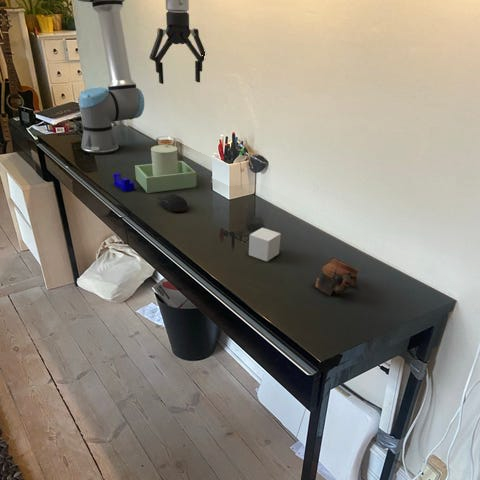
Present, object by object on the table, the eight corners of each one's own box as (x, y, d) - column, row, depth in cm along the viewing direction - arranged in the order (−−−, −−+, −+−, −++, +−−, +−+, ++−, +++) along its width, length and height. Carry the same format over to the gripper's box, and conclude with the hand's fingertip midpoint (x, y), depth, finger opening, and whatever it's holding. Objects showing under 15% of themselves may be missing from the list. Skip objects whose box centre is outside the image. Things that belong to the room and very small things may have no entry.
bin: (136, 180, 177) (134, 165, 174) (183, 174, 184) (182, 160, 181) (147, 193, 167) (146, 177, 164) (196, 186, 174) (196, 172, 171)
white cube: (260, 247, 136) (262, 227, 132) (279, 253, 133) (280, 233, 130) (248, 255, 132) (249, 234, 128) (266, 261, 129) (268, 240, 126)
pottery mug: (307, 282, 122) (322, 252, 120) (337, 295, 125) (353, 266, 123) (325, 295, 111) (342, 263, 109) (358, 310, 114) (375, 278, 112)
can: (180, 177, 179) (179, 144, 172) (175, 186, 171) (174, 151, 164) (156, 176, 179) (154, 142, 172) (150, 184, 172) (147, 150, 165)
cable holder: (134, 189, 169) (133, 178, 167) (125, 191, 167) (124, 180, 165) (123, 183, 174) (122, 172, 172) (114, 185, 172) (113, 174, 170)
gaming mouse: (168, 196, 165) (168, 184, 163) (191, 210, 156) (191, 198, 153) (152, 200, 162) (151, 188, 160) (174, 214, 152) (174, 202, 150)
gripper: (143, 11, 153) (148, 85, 165) (216, 12, 162) (216, 82, 174) (137, 10, 158) (142, 81, 170) (208, 11, 167) (208, 79, 179)
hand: (179, 82), depth 172 cm, fingers open, 13 cm apart
